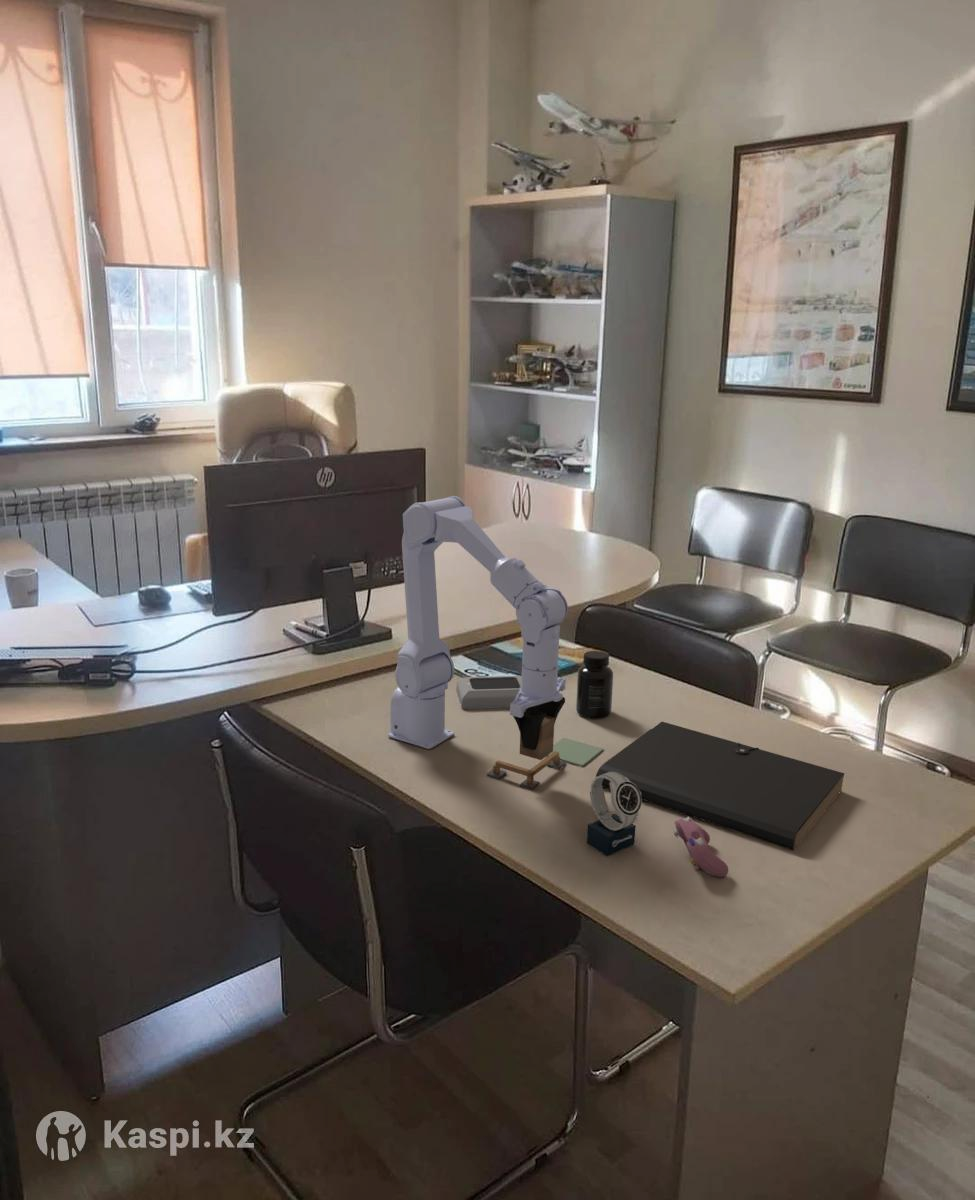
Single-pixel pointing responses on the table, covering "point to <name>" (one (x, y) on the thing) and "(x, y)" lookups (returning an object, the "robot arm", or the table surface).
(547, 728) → the block
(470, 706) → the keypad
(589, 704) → the supplement bottle
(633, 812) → the watch
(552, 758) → the brown angled rail
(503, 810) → the table surface
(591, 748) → the mat
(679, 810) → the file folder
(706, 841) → the pink curved piece
